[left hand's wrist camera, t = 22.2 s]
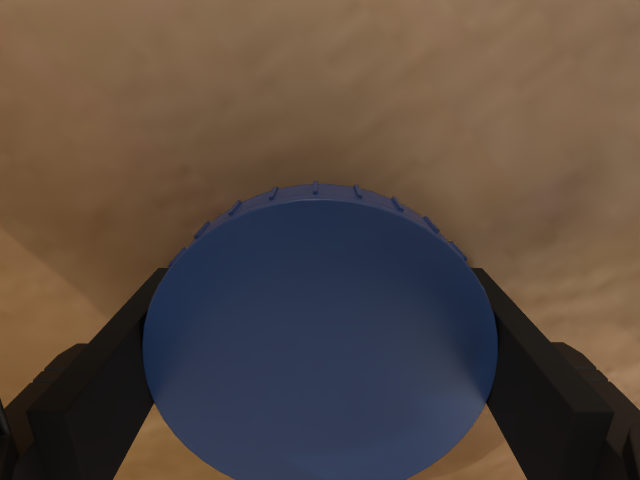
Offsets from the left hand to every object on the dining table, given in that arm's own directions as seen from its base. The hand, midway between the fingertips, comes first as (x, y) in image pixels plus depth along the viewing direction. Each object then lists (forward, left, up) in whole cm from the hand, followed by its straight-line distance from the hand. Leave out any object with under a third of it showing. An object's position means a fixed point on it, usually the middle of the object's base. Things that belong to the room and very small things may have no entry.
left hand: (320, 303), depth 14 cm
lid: (0, 0, +3) cm, 3 cm away
